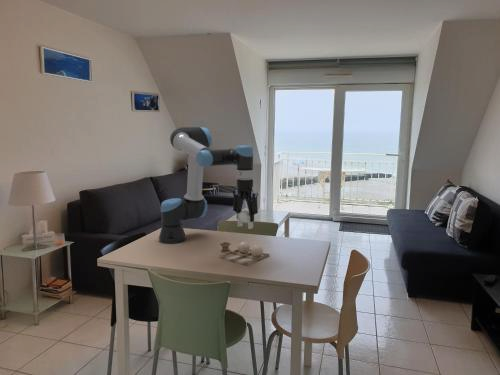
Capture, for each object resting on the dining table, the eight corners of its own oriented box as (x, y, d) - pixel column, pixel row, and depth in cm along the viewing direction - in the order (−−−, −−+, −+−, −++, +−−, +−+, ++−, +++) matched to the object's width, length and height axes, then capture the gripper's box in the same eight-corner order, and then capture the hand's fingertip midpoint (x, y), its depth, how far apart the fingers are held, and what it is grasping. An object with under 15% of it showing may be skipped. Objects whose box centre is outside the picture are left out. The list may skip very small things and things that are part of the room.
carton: (219, 258, 196) (219, 255, 196) (242, 250, 209) (242, 247, 209) (246, 266, 185) (246, 263, 185) (269, 257, 198) (269, 254, 198)
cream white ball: (248, 256, 197) (248, 245, 196) (255, 254, 202) (255, 242, 201) (257, 259, 194) (257, 247, 193) (265, 256, 198) (265, 244, 197)
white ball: (244, 220, 193) (244, 208, 192) (254, 222, 189) (254, 210, 188) (236, 223, 188) (236, 210, 187) (246, 225, 184) (245, 212, 183)
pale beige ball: (235, 253, 203) (235, 242, 202) (243, 250, 207) (243, 239, 206) (244, 255, 199) (244, 244, 198) (251, 253, 204) (252, 241, 203)
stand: (218, 252, 207) (218, 243, 206) (225, 249, 211) (225, 241, 210) (225, 254, 203) (225, 245, 203) (232, 251, 207) (232, 243, 206)
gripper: (224, 178, 188) (225, 225, 192) (255, 181, 176) (255, 232, 180) (235, 176, 194) (235, 222, 198) (266, 179, 182) (265, 228, 186)
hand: (245, 227), depth 189 cm, fingers closed on white ball, 6 cm apart
